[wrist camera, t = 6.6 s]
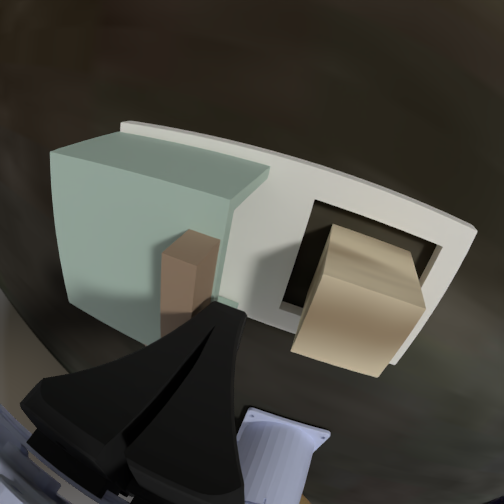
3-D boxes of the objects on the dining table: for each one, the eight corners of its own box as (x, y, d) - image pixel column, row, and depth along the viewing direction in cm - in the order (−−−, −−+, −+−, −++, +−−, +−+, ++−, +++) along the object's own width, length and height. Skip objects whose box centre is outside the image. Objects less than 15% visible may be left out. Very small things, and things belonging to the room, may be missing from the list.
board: (394, 356, 18) (394, 364, 17) (125, 259, 21) (119, 264, 20) (472, 225, 13) (477, 231, 12) (129, 120, 16) (120, 122, 15)
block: (377, 313, 17) (377, 377, 13) (307, 290, 18) (290, 351, 14) (409, 251, 15) (426, 308, 11) (332, 223, 15) (323, 273, 11)
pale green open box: (236, 310, 19) (187, 397, 13) (117, 261, 20) (49, 319, 14) (270, 166, 14) (205, 221, 8) (118, 131, 15) (19, 162, 9)
